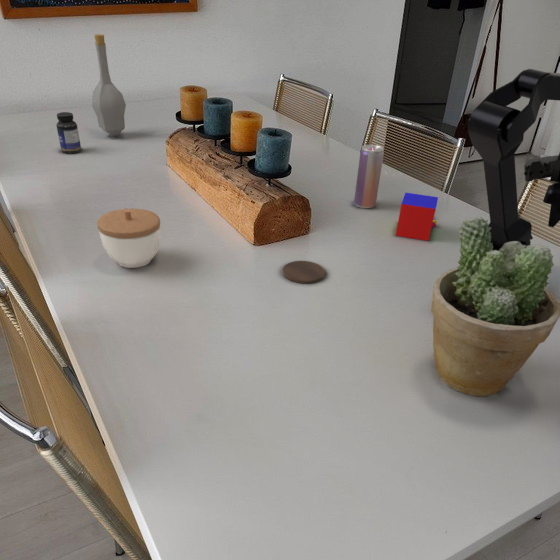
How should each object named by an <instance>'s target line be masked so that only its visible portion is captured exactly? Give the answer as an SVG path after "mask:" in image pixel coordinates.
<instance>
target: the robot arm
mask: <svg viewBox="0 0 560 560" xmlns="http://www.w3.org/2000/svg"><path fill="white" fill-rule="evenodd" d="M521 98H526V99H529V101H528V103H527V104H526V105H525V107H524V108H523V109H521V110H520V109H518V108H513V107H510V106H509V105H511V104H513V103H515V102H517V101H519V100H520V99H521ZM546 101H560V72H549V71H542V70H538V69H534V68H527V69H524V70H522V71H521V72H519V74H517V76H516V77H515V78H514V79H513V80H511V81H510V82H507V83H505V84H504V85H502V86H500V87H498V88H496V89H495V90H493V91H491V92H490V93H489V94H488V95H487V96H486V97H485V98H484V99H483V100H482V101H481V102H480V103H479V104H478V105H477V106H476V107H475V108H474V109H473V111H472V112H471V114H470V115H469V118H468V120H467V133H468V136H469V138H470V141H471V145H472V146H473V148H474V150H475V151H476V152H477V154H478V155H479V156H480V157H481V159H482V161H483V170H484V179H485V186H486V187H485V188H486V195H487V205H488V213H489V223H488V226H489V228H491V229H490V231H489V232H490V233H491V235H490V236H491V239H490V240H491V241H490V243H492V244H493V245H492V246H493V250H497V251H499V249H501V248H502V247H503V245H504V243H507V242H512V241H518V242H520V243H521V244H522V245H525V246H529V245H531V241H532V240H533V239H534V237H533V235H532V228H533V225H532V223H531V221H529V220H526V219H524V218H522V217H520V216H519V204H518V203H519V202H518V190H517V189H518V188H517V174H516V173H517V172H516V171H517V170H516V159H515V157H516V152H517V151H518V149H519V147H520V146H521V145H522V143H523V142H524V137H525V136H524V135H525V133H526V132H527V131H528V130H529V129H530V128H531V126H533V125H534V124H535V123H536V121H537V118H538V114H539V111H540V109H541V106H542V104H543V103H544V102H546ZM523 166H524V167H523V168H524V172H523V175H524V182H525V183H528V182H533V181H535V180H542V179H548V178H549V182H553V183H552V184H549V185H548V186H547V188H546V192H545V194H544V197H543V200H542V203H544V204H548V205H550V209H549V217H548V223H547V226H548V227H549V228H555V227H556V225H558V223H559V222H560V152H559V153H558V154H557V155H548V156H541V157H536V158H530V159H527V160H526V161H525V163H524V165H523ZM525 248H526V247H525Z"/></svg>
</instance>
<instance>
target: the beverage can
mask: <svg viewBox="0 0 560 560" xmlns="http://www.w3.org/2000/svg"><path fill="white" fill-rule="evenodd" d="M384 155H385V151H384V147H383V146H381V145H377V144H364V145H362V146H361V149H360V152H359V160H358V168H357V175H356V184H355V189H354V190H355V191H354V197H353V203H354V205H355V206H356V207H357V208H360V209H365V210H367V209H372V208H374V207H375V206H376V205H377V198H378V195H379V194H378V193H379V186H380V181H381V174H382V167H383V162H384V161H383V160H384Z"/></svg>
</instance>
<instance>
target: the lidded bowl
mask: <svg viewBox="0 0 560 560" xmlns="http://www.w3.org/2000/svg"><path fill="white" fill-rule="evenodd" d="M96 226H97V230H98V232H99V237H100V241H101V244H102V246H103V248H104V251H105V252H106V254H107V255H108V256H109V257H110V258H111V260H113V261H115V262H116V263H117V264H118V266H121V267H122V268H128V269H136V268H137V269H138V268H142V267H146V266H147V265H149V264H150V263H151V262H152V259H154V257H155V256H156V255H157V253H158V251H159V249H160V246H161V219H160V216H159V215H158V214H157V213H155V212H153V211H151V210H147V209H144V208H122V209H121V208H120V209H116V210H112V211H109V212H106V213H104V214H102V215H101V216H100V217H99V218H98V219H97V222H96Z"/></svg>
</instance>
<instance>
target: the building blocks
mask: <svg viewBox="0 0 560 560" xmlns="http://www.w3.org/2000/svg"><path fill="white" fill-rule="evenodd" d="M437 222H438V220H437V219H436V218H434V219H433V223H432V228H436V226H437Z"/></svg>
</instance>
